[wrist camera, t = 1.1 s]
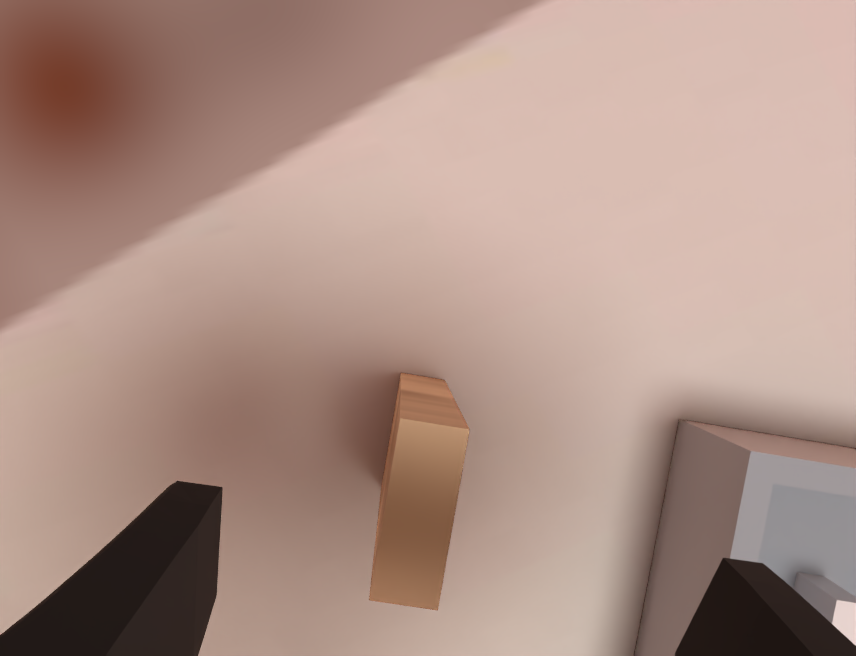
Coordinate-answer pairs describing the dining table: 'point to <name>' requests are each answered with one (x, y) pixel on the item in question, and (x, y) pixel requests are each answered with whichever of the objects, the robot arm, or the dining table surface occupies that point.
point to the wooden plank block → (418, 494)
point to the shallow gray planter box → (751, 525)
